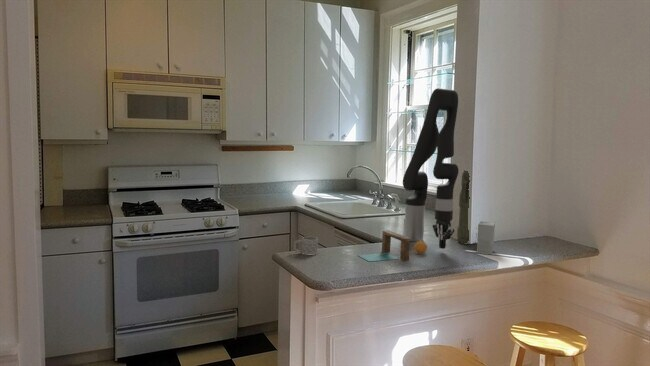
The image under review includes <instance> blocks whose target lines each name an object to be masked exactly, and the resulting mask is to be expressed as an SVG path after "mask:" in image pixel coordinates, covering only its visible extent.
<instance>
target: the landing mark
mask: <svg viewBox="0 0 650 366" xmlns="http://www.w3.org/2000/svg"><path fill="white" fill-rule="evenodd" d="M357 256H358V257H359V258H361V259H363V260H365V261H366V262H369V263H371V262H382V261H393V260H400V257H397V256H394V255H392V254H391V253H389V252H386V253H384V252H381V253H370V254H359V255H357Z"/></svg>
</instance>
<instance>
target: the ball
mask: <svg viewBox="0 0 650 366" xmlns="http://www.w3.org/2000/svg"><path fill="white" fill-rule="evenodd" d="M413 250H414V252H415V253H416V254H417V255H418V254H419V255H423V254H425V253H426V251H427V250H428V246H427V244H426V243H425V241H415V243H414V246H413Z"/></svg>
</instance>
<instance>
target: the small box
mask: <svg viewBox="0 0 650 366" xmlns="http://www.w3.org/2000/svg"><path fill="white" fill-rule="evenodd" d="M477 226H478V227H477V240H476V241H477V243H476V254H479V253H483V254H482V255H488V254H490V255H491V256H492V255H493V253H494V245H495V244H494V243H495V232H496V231H495V227H496V222H492V221H480V222H479V223H478V225H477Z"/></svg>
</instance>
